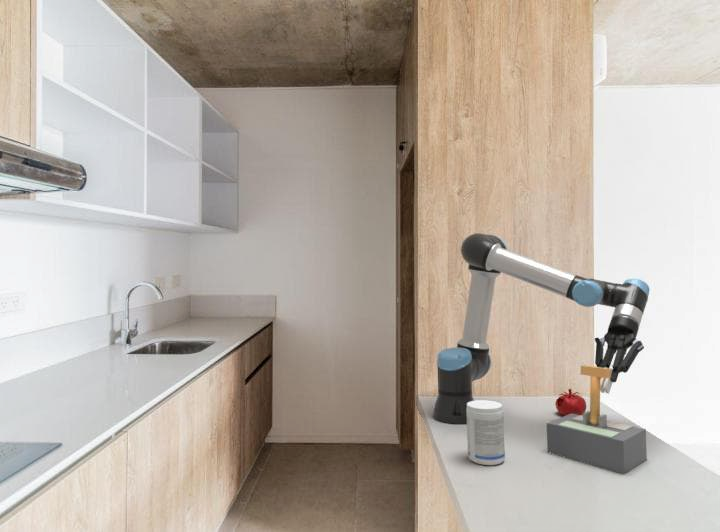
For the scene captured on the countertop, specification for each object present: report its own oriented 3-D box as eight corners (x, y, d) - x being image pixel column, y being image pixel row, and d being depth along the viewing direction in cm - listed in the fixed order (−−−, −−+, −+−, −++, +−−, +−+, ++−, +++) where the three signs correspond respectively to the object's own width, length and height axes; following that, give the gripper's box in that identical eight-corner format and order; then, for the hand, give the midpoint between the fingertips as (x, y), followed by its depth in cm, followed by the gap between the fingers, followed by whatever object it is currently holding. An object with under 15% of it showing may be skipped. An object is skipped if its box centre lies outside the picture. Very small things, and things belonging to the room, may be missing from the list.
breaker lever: (579, 422, 131) (580, 364, 132) (583, 421, 132) (584, 364, 133) (606, 428, 125) (606, 368, 127) (610, 427, 127) (610, 368, 128)
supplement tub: (512, 461, 126) (511, 405, 126) (487, 469, 120) (486, 411, 121) (484, 450, 134) (483, 397, 134) (460, 457, 129) (458, 403, 129)
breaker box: (547, 452, 132) (546, 411, 132) (572, 440, 141) (571, 402, 141) (624, 474, 116) (622, 428, 117) (646, 459, 125) (645, 416, 125)
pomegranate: (588, 413, 168) (587, 387, 168) (584, 421, 160) (583, 393, 160) (558, 410, 173) (557, 384, 174) (553, 416, 165) (552, 389, 165)
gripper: (654, 332, 138) (634, 402, 127) (605, 329, 148) (583, 394, 137) (646, 316, 134) (625, 385, 123) (597, 314, 145) (573, 378, 134)
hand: (603, 390), depth 130 cm, fingers closed
